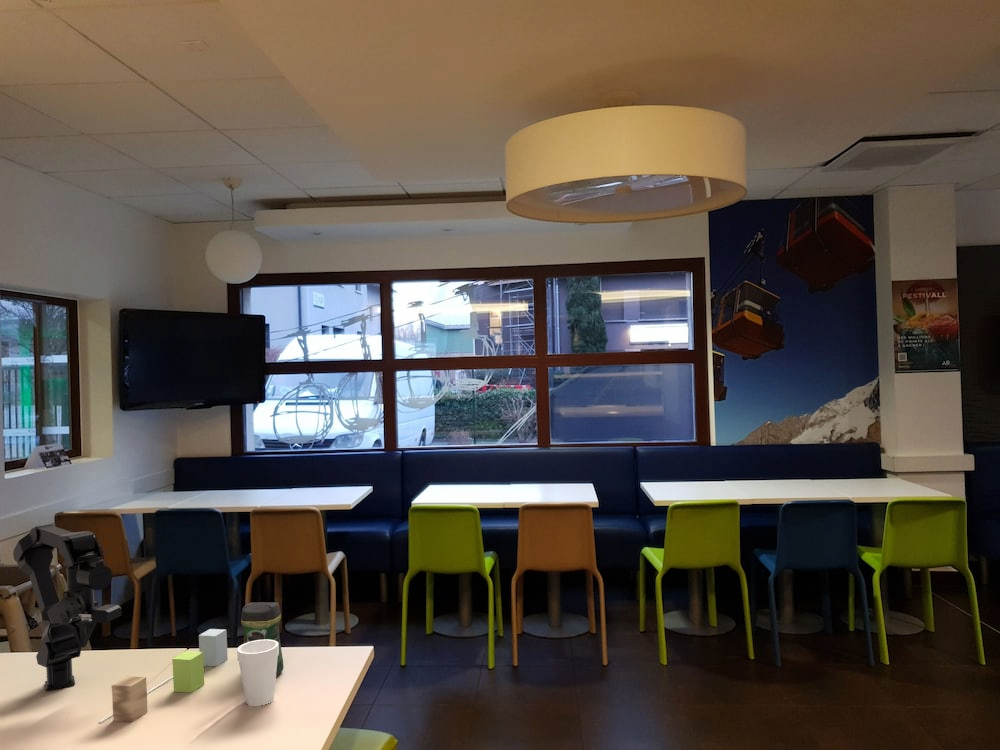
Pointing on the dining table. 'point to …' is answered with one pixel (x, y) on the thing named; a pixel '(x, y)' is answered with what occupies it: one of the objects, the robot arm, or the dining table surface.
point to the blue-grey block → (213, 646)
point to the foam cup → (258, 670)
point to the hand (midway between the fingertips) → (83, 647)
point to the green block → (188, 671)
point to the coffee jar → (263, 625)
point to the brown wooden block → (129, 698)
